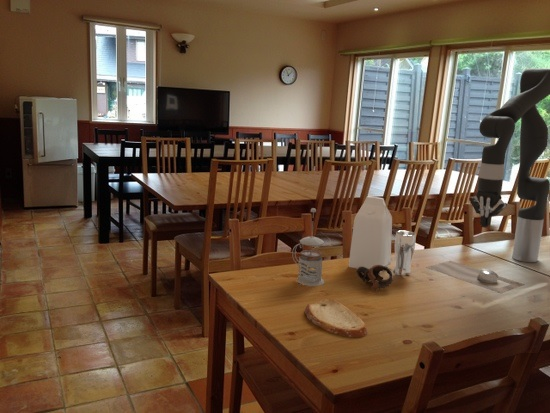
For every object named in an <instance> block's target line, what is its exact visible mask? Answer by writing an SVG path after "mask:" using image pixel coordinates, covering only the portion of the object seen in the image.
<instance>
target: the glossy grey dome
mask: <svg viewBox="0 0 550 413" xmlns="http://www.w3.org/2000/svg"><path fill="white" fill-rule="evenodd" d="M479 270H480V272H479V275H478V277H477V279H478V280H479V282H482V283H485V284H496V283H497V281H498V276H499V275H498V274H497V273H496V272H494V271H493V270H491V269H489V268H481V269H479Z"/></svg>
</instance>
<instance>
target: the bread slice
mask: <svg viewBox="0 0 550 413" xmlns="http://www.w3.org/2000/svg"><path fill="white" fill-rule="evenodd" d="M304 314H305V316H306V318H307V319H308V320H309V321H310V322H312V323H313V324H314V325H315V326H317V327H318V328H319V327H320V328H322V329H323V330H324V331H327V332H329V333H332V334H335V335H339V336H344V337H350V338H353V337H354V338H361V337H366V336H367V335H368V333H369V332H368V330H367V327H366V326H367V325H366V323H365V322H364V321H363V320H362V318H360V317H359V316H358V315H357V314H356V312H354V311H352V310H351V309H349V308H348V307H347V306H345V305H344V304H342V303H340V302H339V301H337V300H336V299H334V298H333V299H330V298H329V299H328V298H327V299H322V300H319V301H317V302H314V303H311V304H310V303H309V304H307V305H306V306H305V310H304Z"/></svg>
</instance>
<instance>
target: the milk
mask: <svg viewBox="0 0 550 413" xmlns="http://www.w3.org/2000/svg"><path fill="white" fill-rule="evenodd" d="M386 205H387V204H386V201H385V199H384V197H376V196H369V195H368V196H366V197H365V199H364V201H363V204H362V205H361V207H360V209H358V211H357V213H356V215H355V217H354V220H353V226H352V233H351V234H352V235H351V243H350V251H349V261H348V267H349V268H352V269H356V270H357V269H358V268H359V267H365V268H367V269H370V268H372V267H373V266H374V265H382V266H385V267H387V266H389V265H391V260H392V257H391V256H392V235H393V234H392V231H393V229H392V228H393V216H392V214H391V213H390V210H389V209H388V207H387V206H386ZM387 268H388V267H387ZM388 269H389V268H388ZM384 271H385V270H383V271H380V272H379V274H378V275H380V274H381V273H382V272H384Z"/></svg>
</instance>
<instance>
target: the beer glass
mask: <svg viewBox="0 0 550 413" xmlns="http://www.w3.org/2000/svg"><path fill="white" fill-rule="evenodd" d="M416 235H417V234H416V232H413V231H409V230H398V231H396V233H395V240H394V256H395V257H394V258H395V259H394V260H395V265H394V269H393V274H394V275H396V276H400V277H410V275H409V274H410V273H411V272H412V270H411V269H412V268H411V266H412V261H413V258H414V253H415V250H416V249H415V248H416Z"/></svg>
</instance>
